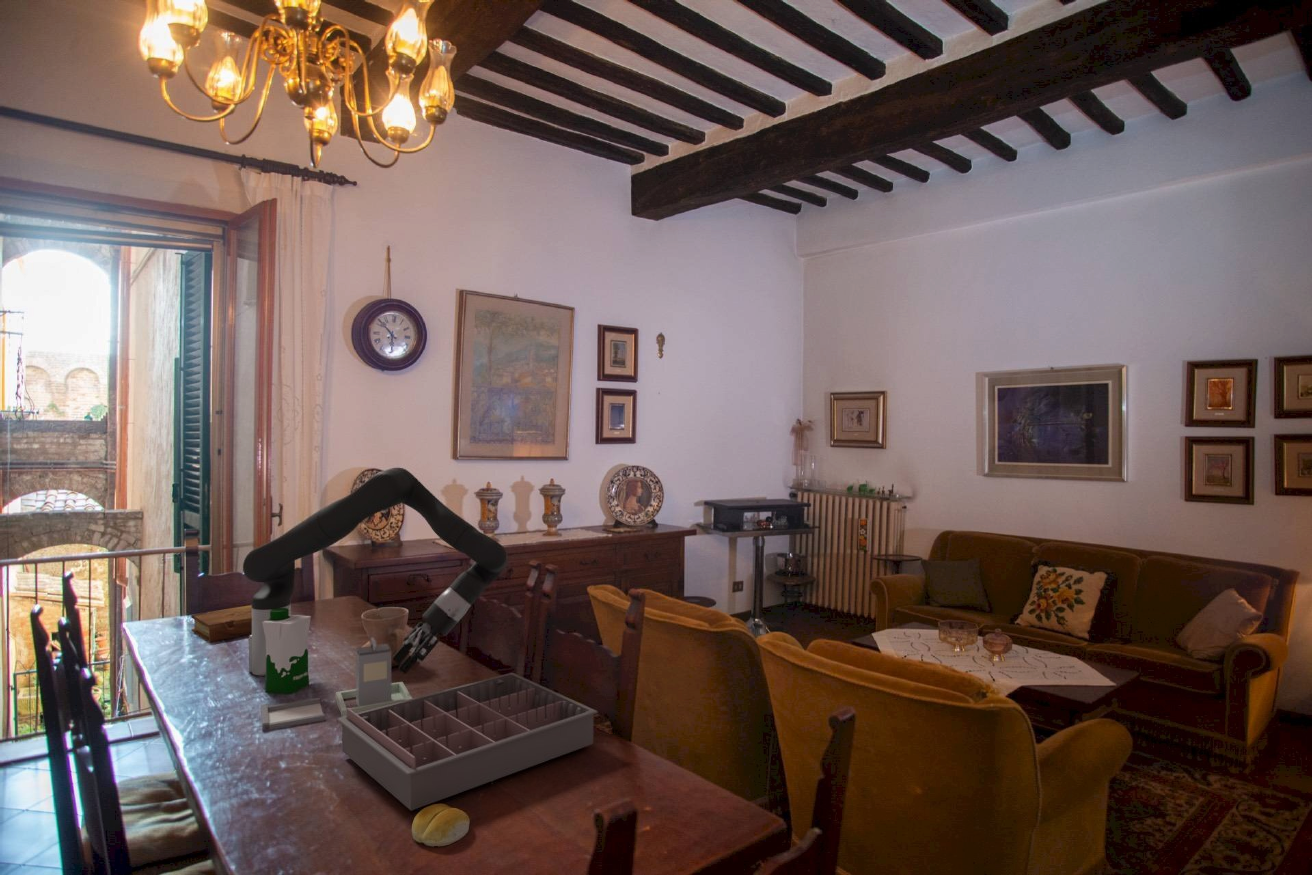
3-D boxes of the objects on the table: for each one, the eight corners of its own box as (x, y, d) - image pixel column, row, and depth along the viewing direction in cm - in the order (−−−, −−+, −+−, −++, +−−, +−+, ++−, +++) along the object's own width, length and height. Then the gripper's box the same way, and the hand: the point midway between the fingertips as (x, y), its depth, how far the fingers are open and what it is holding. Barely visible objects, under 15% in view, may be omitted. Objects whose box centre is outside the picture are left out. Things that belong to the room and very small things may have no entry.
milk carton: (283, 684, 187) (283, 605, 187) (315, 687, 185) (315, 606, 185) (258, 697, 178) (257, 613, 178) (291, 699, 176) (291, 615, 176)
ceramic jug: (347, 662, 205) (346, 610, 204) (397, 650, 215) (397, 601, 214) (373, 679, 192) (373, 625, 191) (426, 666, 202) (426, 614, 201)
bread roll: (439, 814, 125) (439, 790, 125) (477, 830, 120) (477, 805, 120) (399, 837, 118) (398, 812, 118) (437, 854, 113) (437, 828, 113)
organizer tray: (598, 750, 150) (598, 701, 150) (408, 822, 123) (407, 762, 122) (512, 706, 173) (512, 663, 173) (336, 758, 146) (336, 707, 146)
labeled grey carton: (387, 696, 177) (387, 634, 176) (391, 703, 172) (391, 639, 172) (356, 701, 173) (355, 638, 173) (359, 708, 169) (358, 644, 169)
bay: (319, 706, 173) (319, 695, 172) (324, 724, 162) (324, 712, 162) (261, 715, 167) (261, 704, 167) (262, 735, 156) (262, 723, 156)
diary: (210, 644, 223) (209, 625, 223) (191, 632, 236) (191, 614, 235) (290, 629, 239) (290, 611, 239) (268, 618, 252) (268, 601, 252)
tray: (402, 691, 182) (402, 681, 182) (412, 709, 171) (412, 698, 171) (335, 702, 175) (335, 692, 175) (342, 722, 163) (342, 710, 163)
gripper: (429, 595, 185) (381, 648, 180) (442, 607, 172) (391, 664, 167) (451, 614, 188) (404, 667, 182) (465, 627, 175) (416, 684, 170)
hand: (398, 666), depth 175 cm, fingers open, 8 cm apart
